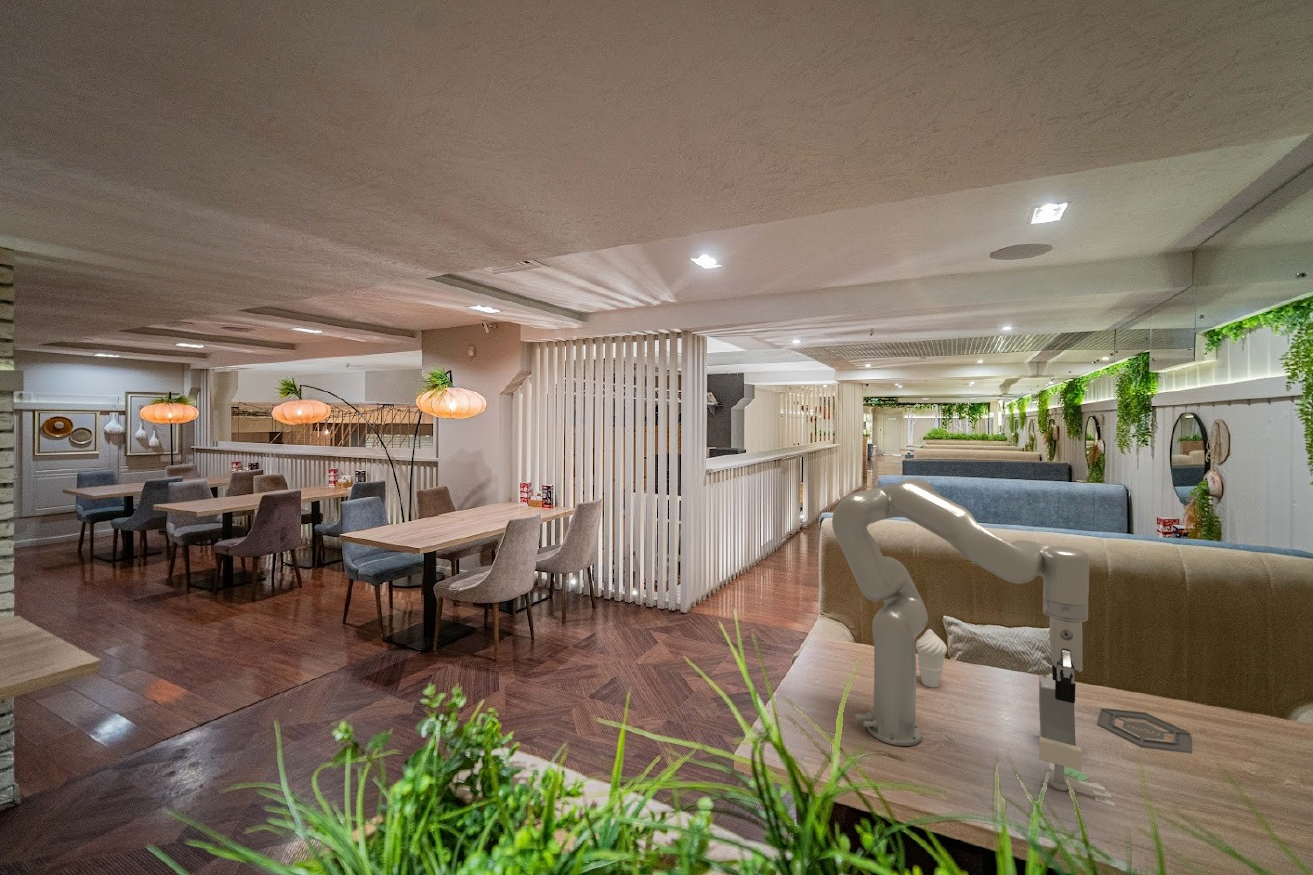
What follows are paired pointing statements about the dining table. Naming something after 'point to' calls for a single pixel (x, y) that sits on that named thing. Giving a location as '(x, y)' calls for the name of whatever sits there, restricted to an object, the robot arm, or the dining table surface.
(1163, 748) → the grey hexagonal plate
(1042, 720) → the skincare box
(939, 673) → the soft serve ice cream cone
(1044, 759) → the beige block on stand
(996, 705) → the dining table surface
